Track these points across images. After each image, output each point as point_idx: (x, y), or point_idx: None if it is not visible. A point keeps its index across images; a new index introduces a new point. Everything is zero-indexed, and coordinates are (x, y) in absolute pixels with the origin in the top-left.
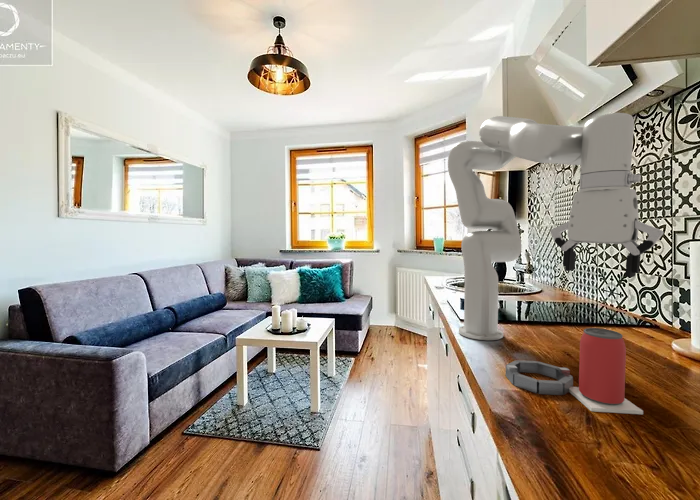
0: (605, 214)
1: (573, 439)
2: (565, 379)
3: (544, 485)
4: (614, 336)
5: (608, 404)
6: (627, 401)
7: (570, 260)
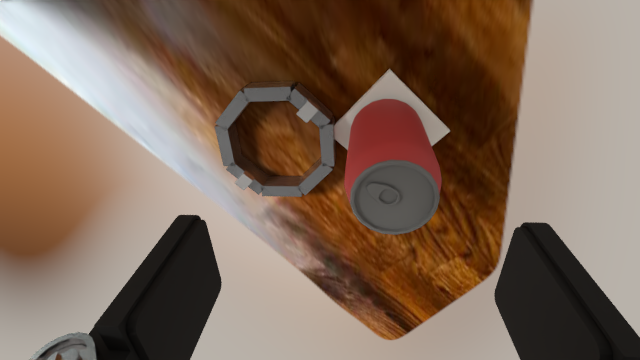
0: None
1: (390, 262)
2: (327, 146)
3: (395, 332)
4: (425, 220)
5: None
6: (424, 111)
7: (194, 328)
